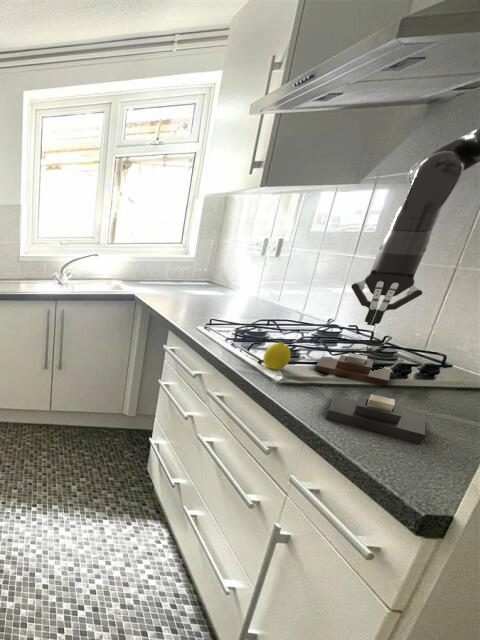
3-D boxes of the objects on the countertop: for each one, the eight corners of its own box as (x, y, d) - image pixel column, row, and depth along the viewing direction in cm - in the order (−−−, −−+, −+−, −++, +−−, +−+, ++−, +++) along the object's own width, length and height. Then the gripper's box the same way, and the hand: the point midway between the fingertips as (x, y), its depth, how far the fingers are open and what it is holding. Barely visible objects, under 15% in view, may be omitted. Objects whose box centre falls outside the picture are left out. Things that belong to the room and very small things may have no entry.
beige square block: (365, 362, 107) (367, 356, 106) (363, 366, 104) (366, 359, 104) (346, 359, 109) (349, 352, 108) (345, 362, 107) (347, 356, 106)
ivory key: (391, 407, 83) (395, 399, 83) (390, 413, 81) (394, 405, 80) (367, 401, 86) (371, 394, 85) (366, 407, 83) (369, 399, 83)
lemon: (264, 373, 109) (273, 344, 106) (256, 366, 114) (265, 338, 111) (288, 375, 108) (298, 346, 104) (279, 368, 113) (288, 339, 109)
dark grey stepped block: (420, 426, 84) (429, 408, 82) (420, 445, 77) (429, 426, 75) (331, 404, 93) (338, 387, 91) (325, 419, 86) (331, 402, 84)
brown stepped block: (387, 377, 107) (393, 363, 105) (385, 388, 100) (392, 373, 99) (319, 363, 116) (324, 350, 114) (313, 373, 109) (318, 358, 108)
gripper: (442, 252, 93) (408, 327, 100) (364, 247, 102) (338, 317, 109) (443, 255, 88) (407, 333, 96) (361, 250, 97) (334, 322, 104)
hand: (370, 324), depth 102 cm, fingers closed
